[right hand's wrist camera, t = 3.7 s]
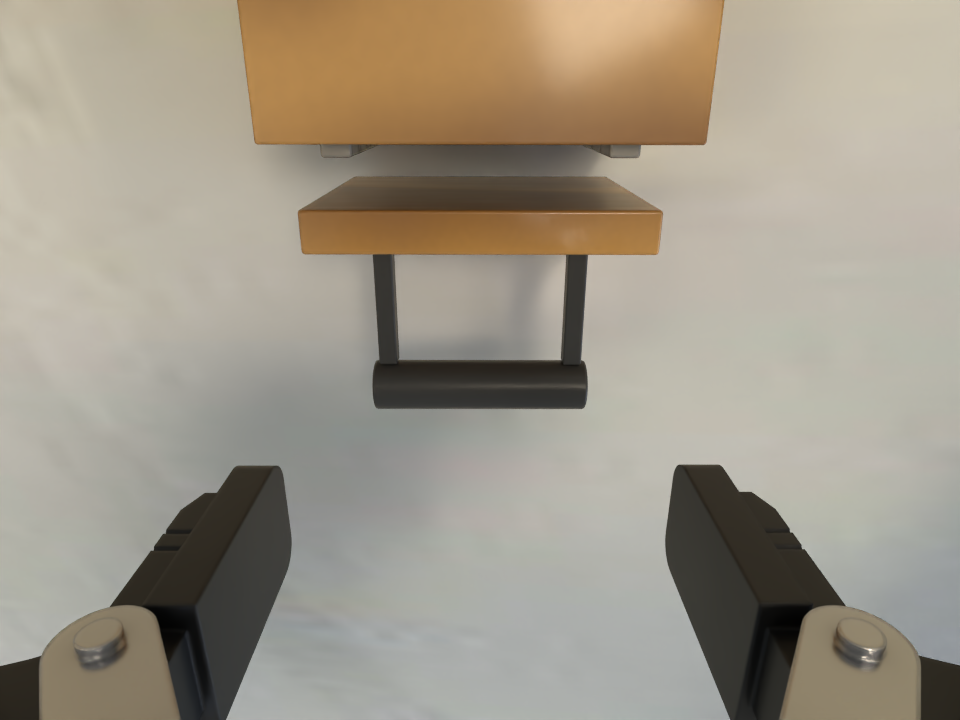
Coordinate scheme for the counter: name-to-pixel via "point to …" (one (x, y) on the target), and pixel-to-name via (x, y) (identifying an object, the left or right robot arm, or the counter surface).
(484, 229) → the drawer
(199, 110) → the counter surface
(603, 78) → the cabinet
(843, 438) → the counter surface
